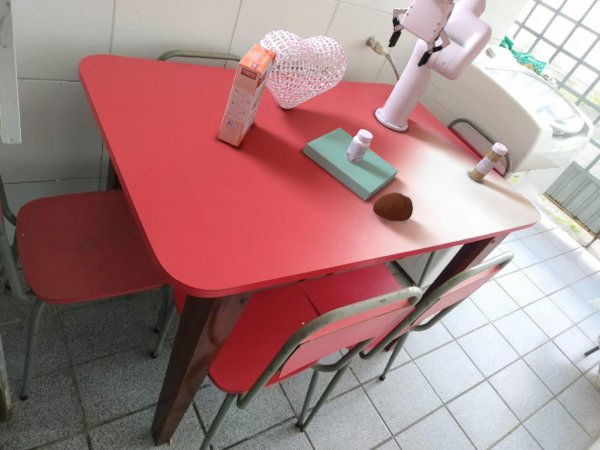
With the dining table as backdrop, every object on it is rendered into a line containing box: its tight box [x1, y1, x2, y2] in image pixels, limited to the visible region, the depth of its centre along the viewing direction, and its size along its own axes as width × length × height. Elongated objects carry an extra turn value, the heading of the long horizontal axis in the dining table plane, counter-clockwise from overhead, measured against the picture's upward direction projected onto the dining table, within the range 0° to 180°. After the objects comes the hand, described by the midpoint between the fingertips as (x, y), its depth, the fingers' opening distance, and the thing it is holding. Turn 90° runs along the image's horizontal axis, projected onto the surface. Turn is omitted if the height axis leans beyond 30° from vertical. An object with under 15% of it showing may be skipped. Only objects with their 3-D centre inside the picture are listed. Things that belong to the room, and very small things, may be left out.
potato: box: [372, 191, 414, 222], centre depth 103 cm, size 8×12×8 cm, turn 110°
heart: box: [258, 29, 348, 110], centre depth 118 cm, size 28×16×22 cm, turn 123°
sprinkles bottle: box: [469, 142, 508, 183], centre depth 134 cm, size 5×5×13 cm
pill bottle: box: [345, 128, 374, 164], centre depth 110 cm, size 5×5×8 cm
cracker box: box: [217, 43, 278, 148], centre depth 101 cm, size 14×6×21 cm, turn 168°
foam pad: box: [302, 127, 399, 202], centre depth 115 cm, size 18×22×3 cm
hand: (405, 55), depth 110 cm, fingers open, 9 cm apart
